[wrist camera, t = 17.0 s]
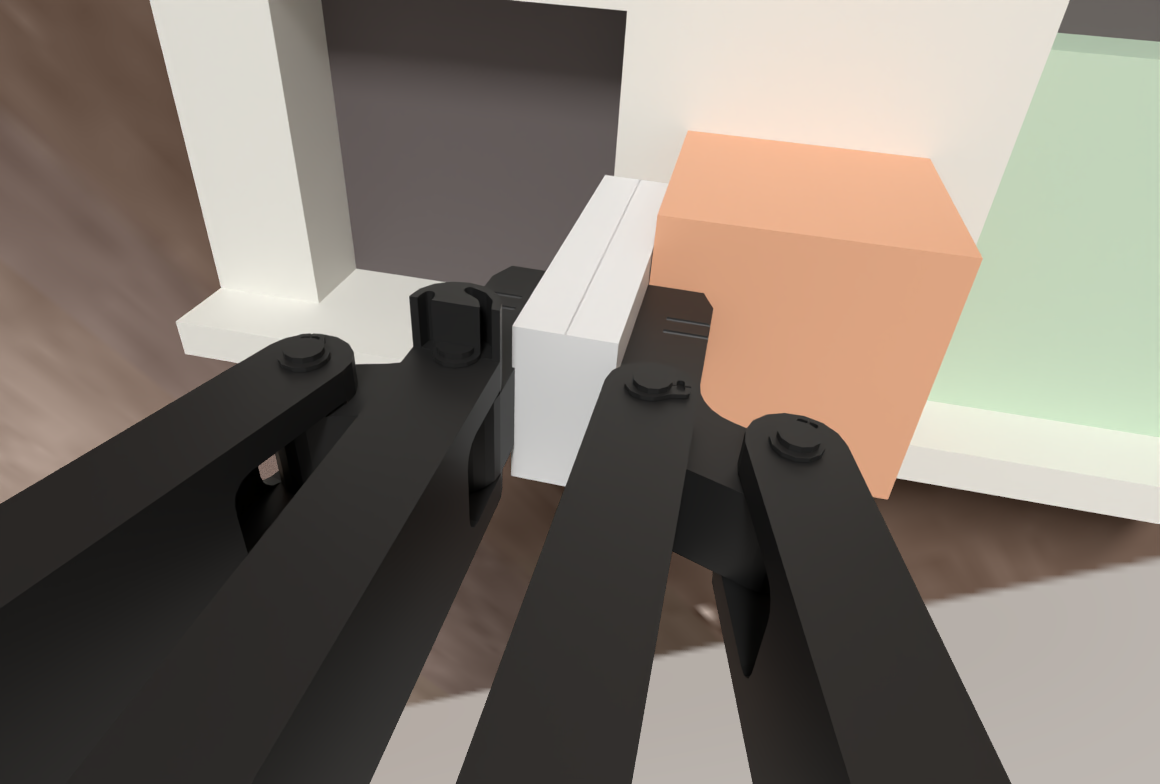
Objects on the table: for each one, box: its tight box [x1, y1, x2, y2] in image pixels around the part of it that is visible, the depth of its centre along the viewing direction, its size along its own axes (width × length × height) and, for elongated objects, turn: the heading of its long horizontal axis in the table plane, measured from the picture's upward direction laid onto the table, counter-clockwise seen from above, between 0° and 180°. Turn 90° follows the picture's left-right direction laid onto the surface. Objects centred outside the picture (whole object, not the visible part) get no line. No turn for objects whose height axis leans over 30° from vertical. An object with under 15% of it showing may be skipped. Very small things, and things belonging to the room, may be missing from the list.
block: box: [649, 130, 983, 500], centre depth 15 cm, size 5×5×5 cm
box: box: [150, 0, 1160, 524], centre depth 15 cm, size 27×18×4 cm, turn 87°
